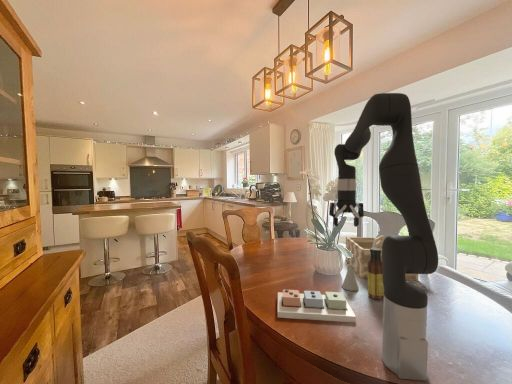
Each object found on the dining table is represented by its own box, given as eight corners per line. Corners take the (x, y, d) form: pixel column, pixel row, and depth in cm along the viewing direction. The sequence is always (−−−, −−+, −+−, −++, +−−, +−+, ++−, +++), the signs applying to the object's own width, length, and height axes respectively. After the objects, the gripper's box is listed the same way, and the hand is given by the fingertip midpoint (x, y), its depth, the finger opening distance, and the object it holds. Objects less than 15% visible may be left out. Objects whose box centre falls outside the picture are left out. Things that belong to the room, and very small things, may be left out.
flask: (360, 292, 96) (361, 269, 96) (342, 290, 98) (343, 268, 97) (356, 285, 103) (357, 263, 103) (340, 283, 105) (340, 262, 104)
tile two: (322, 307, 80) (323, 298, 80) (305, 306, 81) (305, 297, 81) (319, 299, 86) (319, 290, 86) (303, 298, 87) (303, 289, 87)
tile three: (300, 306, 81) (300, 297, 81) (283, 305, 82) (283, 296, 82) (298, 297, 87) (298, 289, 87) (282, 297, 88) (283, 288, 88)
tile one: (346, 309, 79) (346, 299, 79) (328, 308, 80) (328, 298, 80) (341, 300, 85) (341, 291, 85) (325, 299, 86) (325, 290, 86)
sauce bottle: (384, 295, 94) (386, 248, 93) (384, 302, 88) (386, 252, 88) (367, 291, 97) (368, 245, 96) (366, 297, 92) (367, 249, 91)
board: (355, 322, 75) (355, 316, 75) (277, 317, 78) (277, 311, 78) (343, 300, 89) (343, 295, 89) (277, 297, 92) (277, 292, 92)
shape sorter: (376, 262, 133) (377, 232, 132) (396, 267, 125) (397, 236, 124) (360, 270, 121) (361, 237, 120) (381, 277, 113) (382, 241, 112)
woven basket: (418, 280, 109) (419, 251, 108) (361, 277, 111) (361, 249, 111) (391, 261, 135) (391, 238, 134) (345, 259, 138) (346, 236, 137)
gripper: (333, 189, 95) (332, 227, 96) (367, 189, 95) (366, 227, 96) (327, 189, 103) (327, 224, 103) (359, 189, 103) (358, 224, 103)
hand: (345, 226), depth 100 cm, fingers open, 8 cm apart
